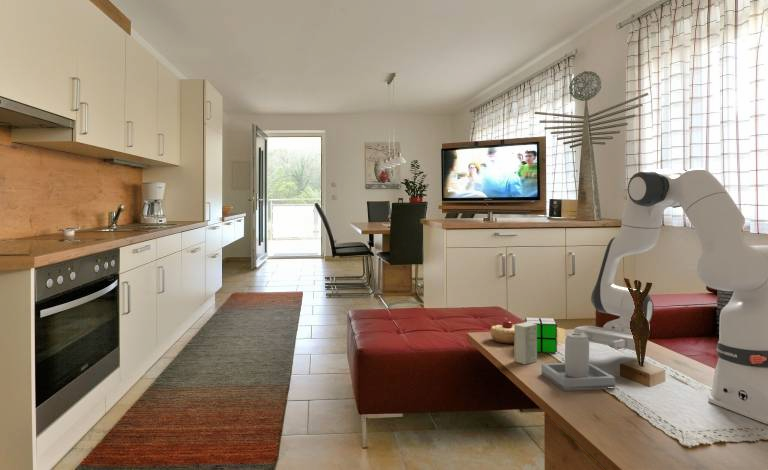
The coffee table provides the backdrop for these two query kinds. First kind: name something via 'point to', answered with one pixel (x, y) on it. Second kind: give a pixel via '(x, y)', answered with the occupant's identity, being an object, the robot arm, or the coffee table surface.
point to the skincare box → (525, 342)
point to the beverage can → (577, 355)
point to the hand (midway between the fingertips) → (596, 341)
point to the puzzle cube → (545, 334)
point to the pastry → (503, 332)
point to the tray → (593, 381)
